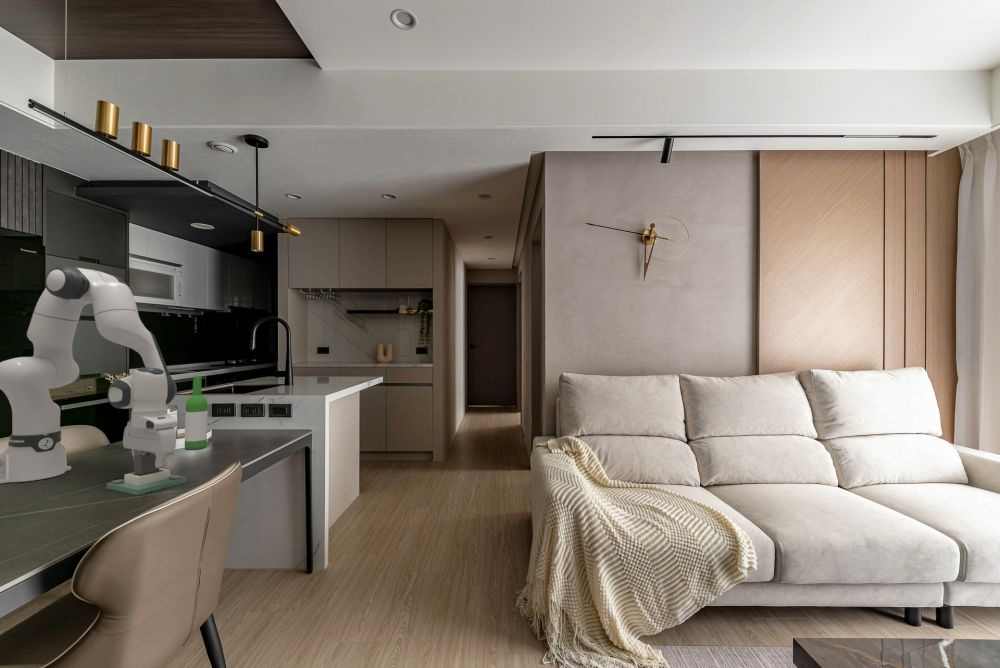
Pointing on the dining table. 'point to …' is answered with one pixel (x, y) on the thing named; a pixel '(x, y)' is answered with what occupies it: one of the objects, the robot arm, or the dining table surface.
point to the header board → (146, 482)
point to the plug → (145, 464)
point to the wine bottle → (196, 418)
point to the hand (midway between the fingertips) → (147, 465)
